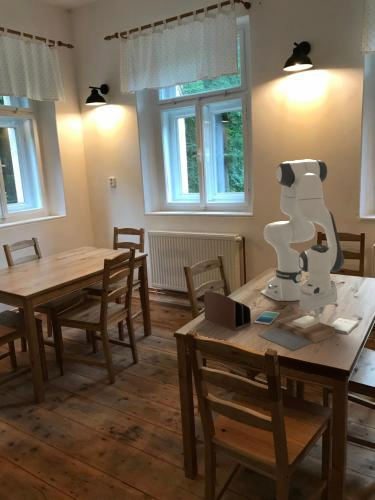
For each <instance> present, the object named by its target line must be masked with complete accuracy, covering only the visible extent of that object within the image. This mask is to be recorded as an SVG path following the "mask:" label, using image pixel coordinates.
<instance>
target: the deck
mask: <svg viewBox="0 0 375 500" xmlns="http://www.w3.org/2000/svg"><path fill="white" fill-rule="evenodd" d="M302 317H304V316H303V315H300V314H297V313H294V314H291V315H288V316H286V317H283V318H280V319H277V320H275V328H280V329H283V330H285V331H288V332H290V333H293V334H295V335H298V336H300V337H303V338H305V339H308V340H310V341H313V343H314V344H317V343H319V342H321V341H323V340H326V339H328V338H330V337H332V336H335V335H336V332H335V327H332V326H330V325H328V324H327V323H324V322H320V321H319V323H318V324H315V325H313V326H310V327H308V328H305V329H304V328H302V327H299V326H296V325H294V324H293V321H294V320H296V319H299V318H302ZM313 343H312V344H313Z"/></svg>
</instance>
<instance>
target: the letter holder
mask: <svg viewBox="0 0 375 500" xmlns="http://www.w3.org/2000/svg"><path fill="white" fill-rule="evenodd" d="M203 293H204V295H203V296H204V298H203V299H204V301H203V303H204V306H203V307H204V319H205V320H207V319H208V321H209V322H213V323H214V324H217V325H219V326H222V327H224V328H227V329H229V330H232V331H238V330H241V329H243V328H246V327H248V326H251V325H252V318H251V317H252V316H251V314H252V313H251V308H250V307H249V306H248V305H246V304H245V303H242V302H239V301H237V300H234V299H233V298H231V297H229V296H227V295H224V294H222V293H219V292H215V291H211V290H209V291H208V290H204V292H203Z"/></svg>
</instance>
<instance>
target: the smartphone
mask: <svg viewBox="0 0 375 500" xmlns="http://www.w3.org/2000/svg"><path fill="white" fill-rule="evenodd" d="M280 315H281V313H280V312H278V311H277V312H276V311H272V310H271V311H269V310H264V311H263V312H262V313H261V314H260V315H259V316H258V317H257V318H256V319H255V320H254V321H253V323H254V324H258V325H265V326H270V325H271V324H273V323H274V322H275V321H276V319H277V318H278V317H279V316H280Z"/></svg>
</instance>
